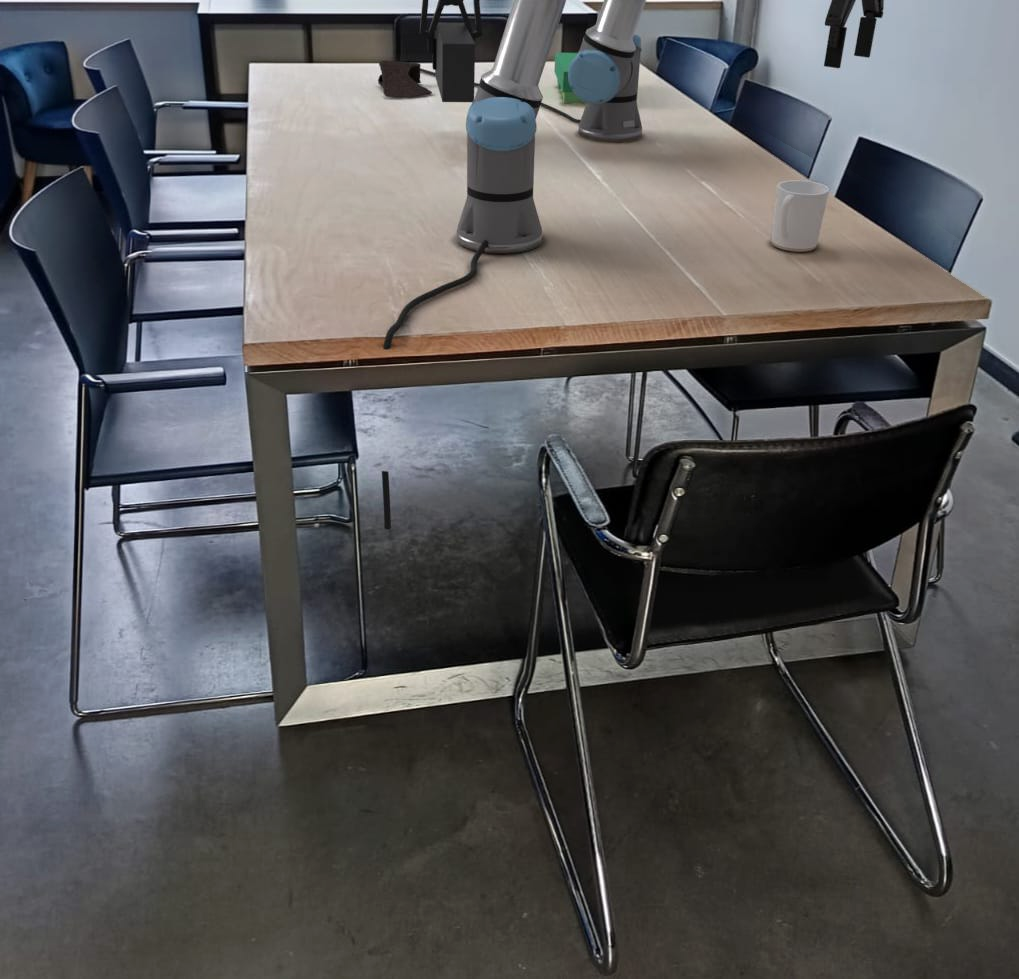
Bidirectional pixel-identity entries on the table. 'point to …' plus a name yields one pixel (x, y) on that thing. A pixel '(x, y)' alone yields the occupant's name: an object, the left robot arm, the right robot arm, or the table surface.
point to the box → (455, 62)
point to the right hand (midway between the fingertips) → (450, 68)
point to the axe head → (401, 79)
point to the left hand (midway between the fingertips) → (847, 61)
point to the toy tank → (565, 76)
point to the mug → (798, 215)
